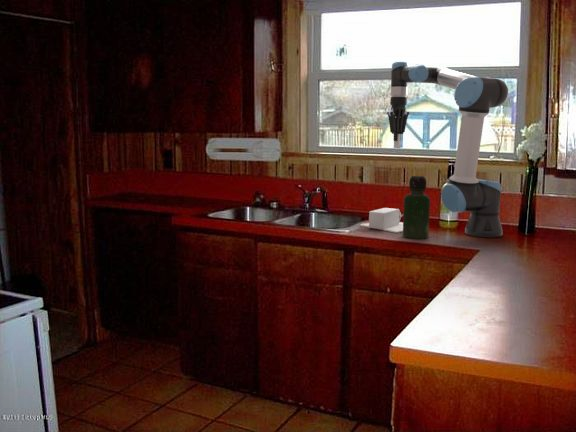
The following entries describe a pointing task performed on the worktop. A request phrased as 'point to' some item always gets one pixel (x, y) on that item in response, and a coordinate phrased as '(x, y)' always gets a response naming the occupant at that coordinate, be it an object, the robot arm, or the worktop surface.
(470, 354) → the worktop surface
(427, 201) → the green bottle
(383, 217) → the milk carton
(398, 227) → the mat
